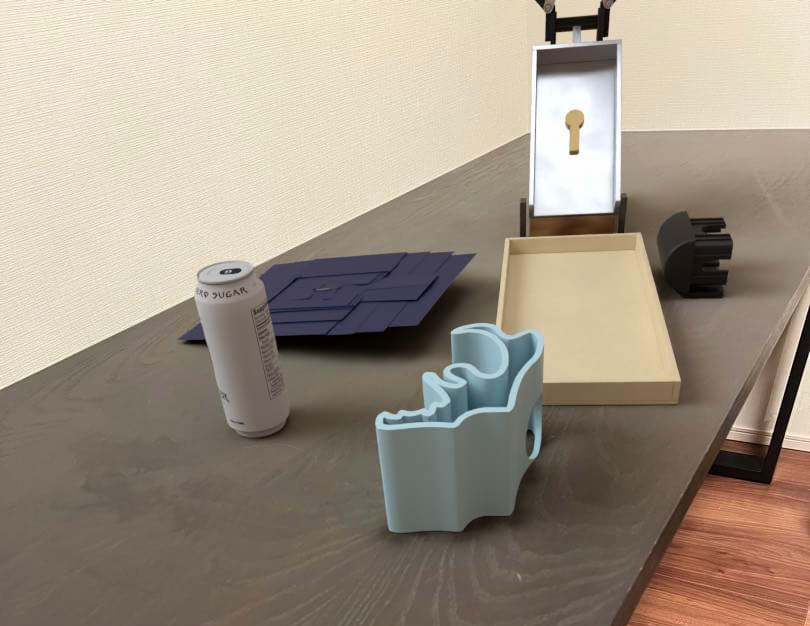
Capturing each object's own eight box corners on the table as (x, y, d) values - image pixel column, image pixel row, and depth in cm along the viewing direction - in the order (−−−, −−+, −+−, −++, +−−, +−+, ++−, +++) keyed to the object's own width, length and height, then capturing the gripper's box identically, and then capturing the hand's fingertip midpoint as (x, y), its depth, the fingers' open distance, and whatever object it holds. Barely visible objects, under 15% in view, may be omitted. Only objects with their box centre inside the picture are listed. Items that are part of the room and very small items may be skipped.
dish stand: (613, 200, 119) (617, 157, 115) (623, 244, 104) (627, 197, 100) (522, 204, 121) (523, 162, 117) (519, 248, 106) (519, 202, 103)
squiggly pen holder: (507, 547, 59) (506, 441, 53) (382, 530, 62) (369, 428, 56) (548, 423, 72) (552, 326, 66) (444, 413, 75) (438, 320, 69)
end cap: (653, 267, 97) (659, 210, 93) (713, 266, 96) (723, 208, 92) (659, 300, 90) (666, 240, 86) (724, 299, 89) (735, 238, 84)
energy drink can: (236, 410, 79) (198, 260, 69) (295, 406, 78) (265, 255, 69) (223, 442, 74) (181, 287, 64) (286, 438, 73) (253, 281, 64)
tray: (639, 251, 102) (641, 232, 100) (677, 404, 72) (681, 381, 71) (505, 256, 105) (505, 237, 103) (489, 405, 75) (489, 383, 73)
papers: (415, 358, 81) (408, 324, 79) (183, 362, 93) (172, 333, 91) (484, 269, 98) (480, 240, 96) (281, 283, 110) (273, 257, 108)
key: (565, 112, 102) (565, 109, 102) (584, 111, 102) (584, 108, 102) (564, 153, 102) (564, 151, 101) (583, 152, 101) (583, 150, 101)
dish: (619, 28, 103) (622, 8, 100) (617, 214, 100) (620, 200, 97) (532, 35, 105) (533, 15, 102) (528, 218, 102) (528, 205, 99)
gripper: (657, -144, 93) (641, 36, 104) (511, -128, 95) (511, 46, 107) (664, -146, 87) (646, 46, 99) (508, -129, 90) (508, 56, 101)
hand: (575, 44), depth 103 cm, fingers closed on dish, 5 cm apart
